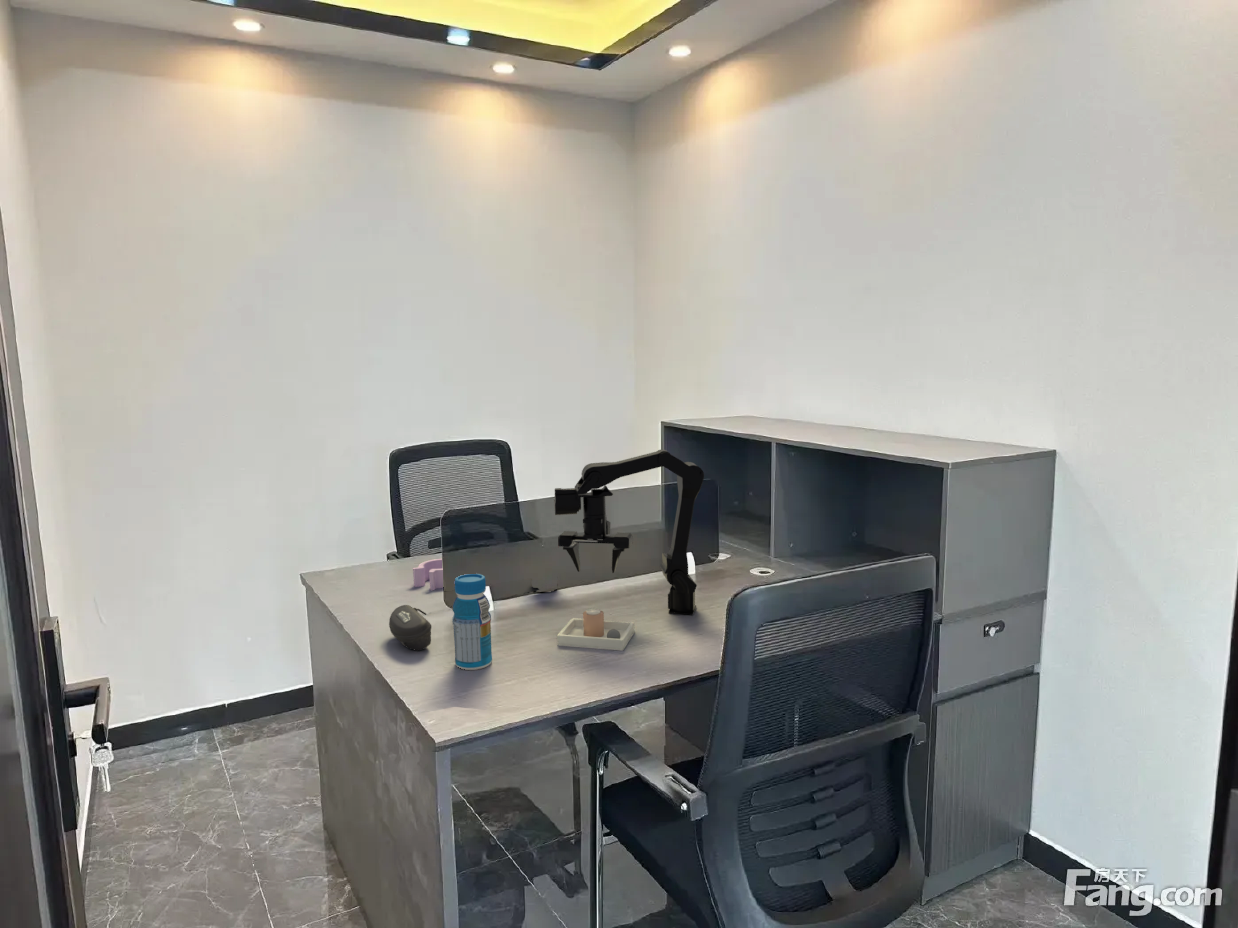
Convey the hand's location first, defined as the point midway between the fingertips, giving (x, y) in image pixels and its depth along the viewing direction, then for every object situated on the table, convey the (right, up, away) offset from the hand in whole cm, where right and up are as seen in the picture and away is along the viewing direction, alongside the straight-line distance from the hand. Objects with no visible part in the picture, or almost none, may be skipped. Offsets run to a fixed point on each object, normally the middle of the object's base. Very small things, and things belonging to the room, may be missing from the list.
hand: (596, 571), depth 204 cm
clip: (-45, -8, +31) cm, 56 cm away
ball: (+5, -14, -18) cm, 24 cm away
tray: (+1, -14, -14) cm, 20 cm away
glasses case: (-43, -15, -15) cm, 48 cm away
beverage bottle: (-27, -17, -28) cm, 42 cm away
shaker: (0, -13, -13) cm, 19 cm away
